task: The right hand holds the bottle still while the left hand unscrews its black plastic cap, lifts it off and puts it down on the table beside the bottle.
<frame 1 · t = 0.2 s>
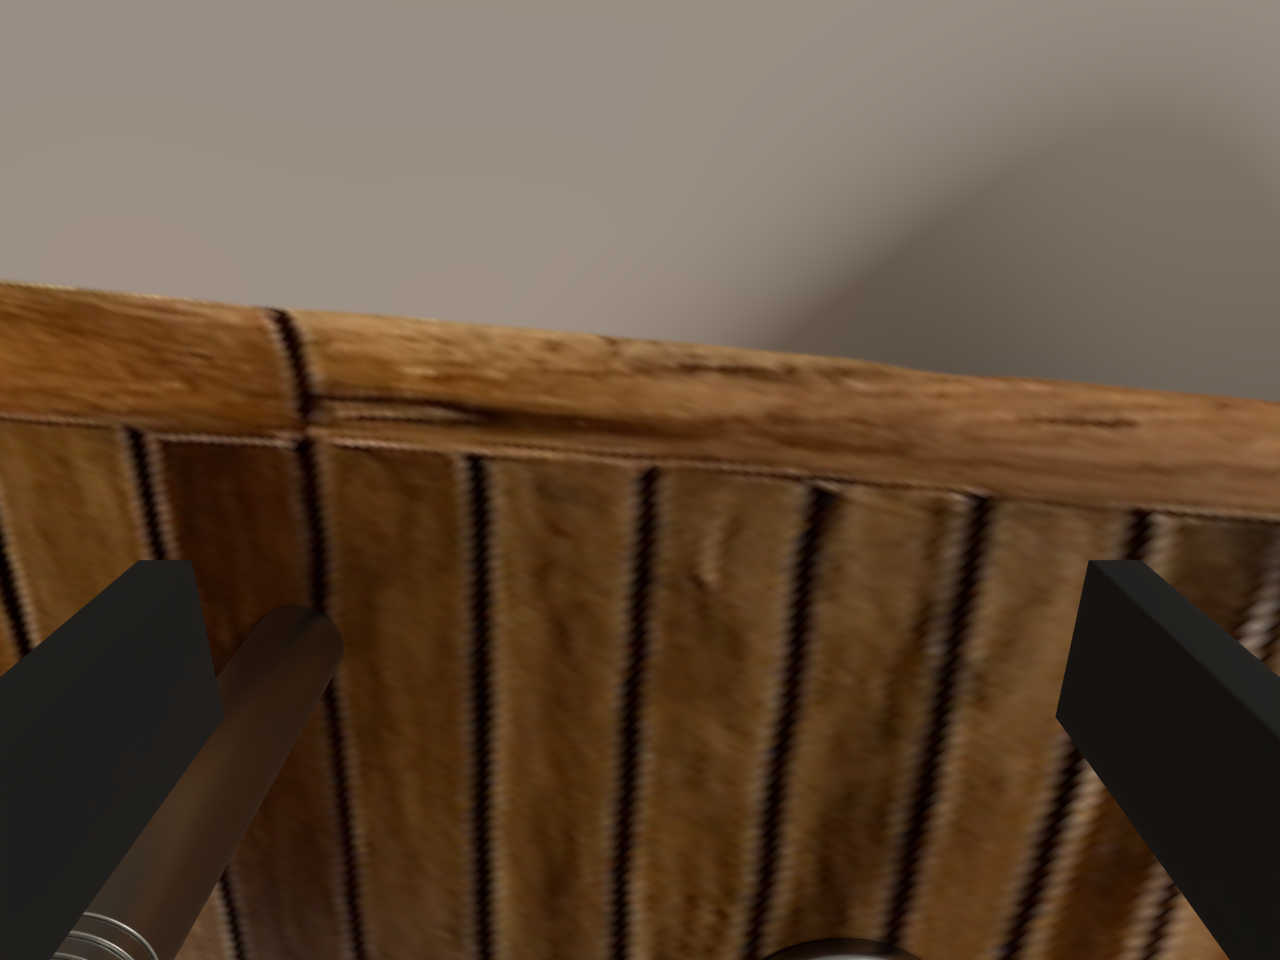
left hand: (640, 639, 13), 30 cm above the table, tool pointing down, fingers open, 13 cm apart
bottle: (299, 643, 48), on the table
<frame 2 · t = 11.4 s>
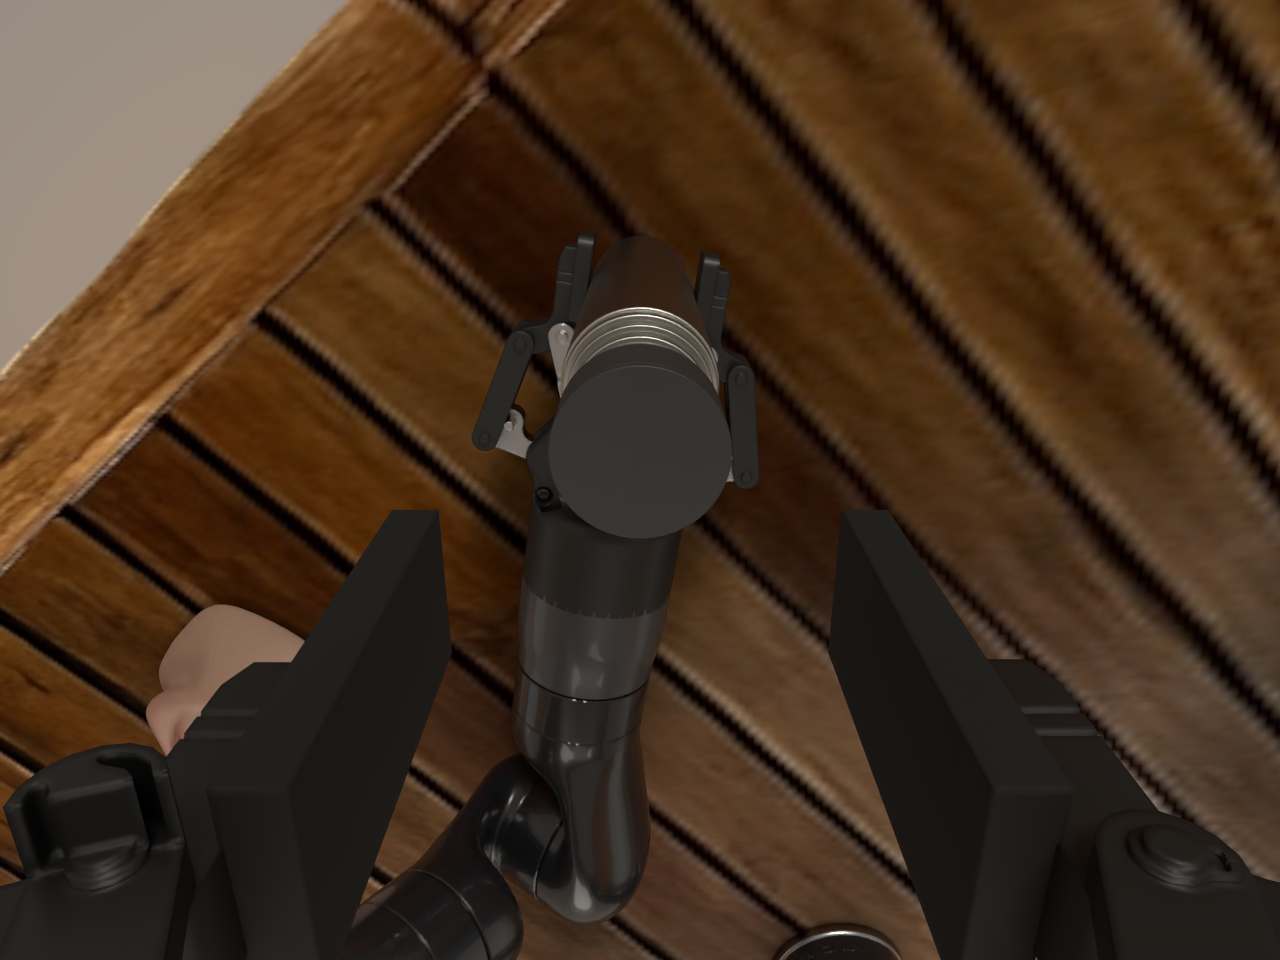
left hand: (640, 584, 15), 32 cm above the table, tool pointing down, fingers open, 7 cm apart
right hand: (648, 245, 38), fingers closed on bottle, 5 cm apart
cap: (640, 451, 21), point 25 cm above the table, screwed on, not yet turned
bottle: (639, 283, 44), on the table, touching right hand
anatomical model: (255, 701, 54), on the table
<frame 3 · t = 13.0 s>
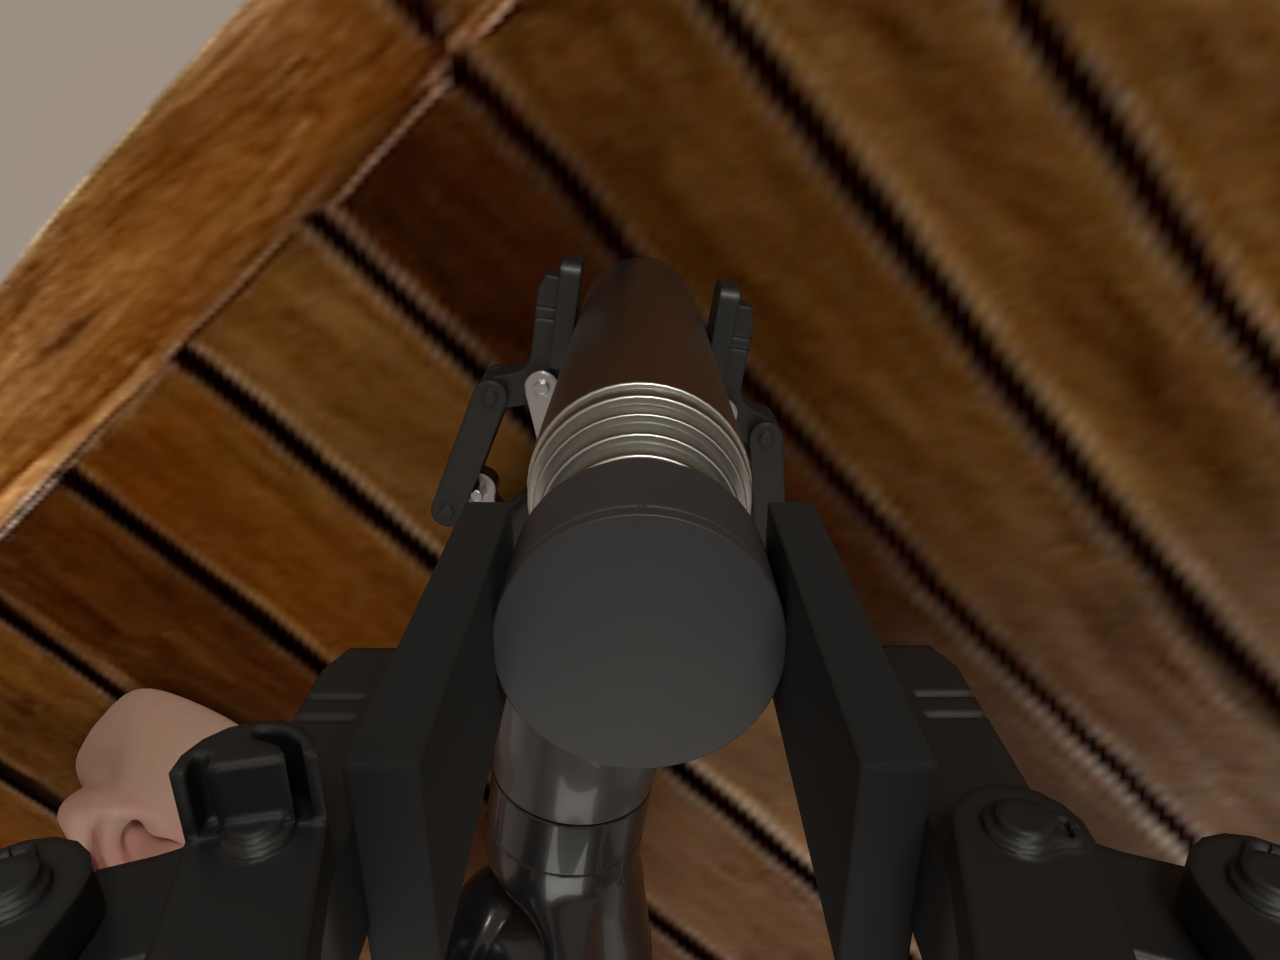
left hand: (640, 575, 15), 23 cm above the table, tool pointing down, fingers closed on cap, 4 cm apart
cap: (639, 638, 13), point 25 cm above the table, screwed on, not yet turned, touching left hand
bottle: (639, 314, 37), on the table, touching right hand
anatomical model: (190, 796, 46), on the table
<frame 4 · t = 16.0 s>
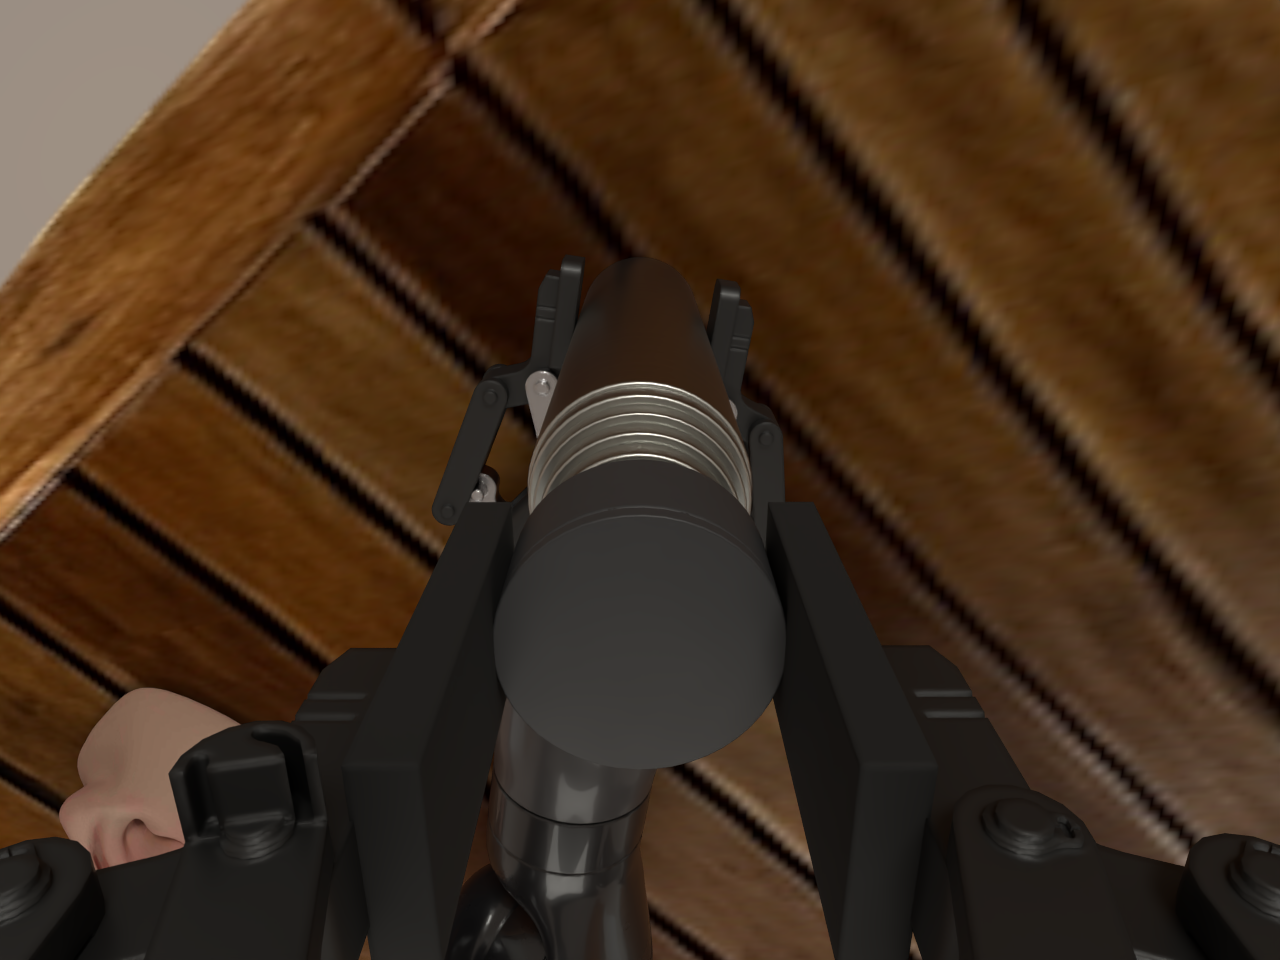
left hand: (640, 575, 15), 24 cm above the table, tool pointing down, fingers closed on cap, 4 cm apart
cap: (639, 639, 13), point 26 cm above the table, turned 94° so far, risen 0.1 cm, still on its thread, touching left hand
bottle: (640, 314, 37), on the table, touching right hand
anatomical model: (191, 795, 46), on the table
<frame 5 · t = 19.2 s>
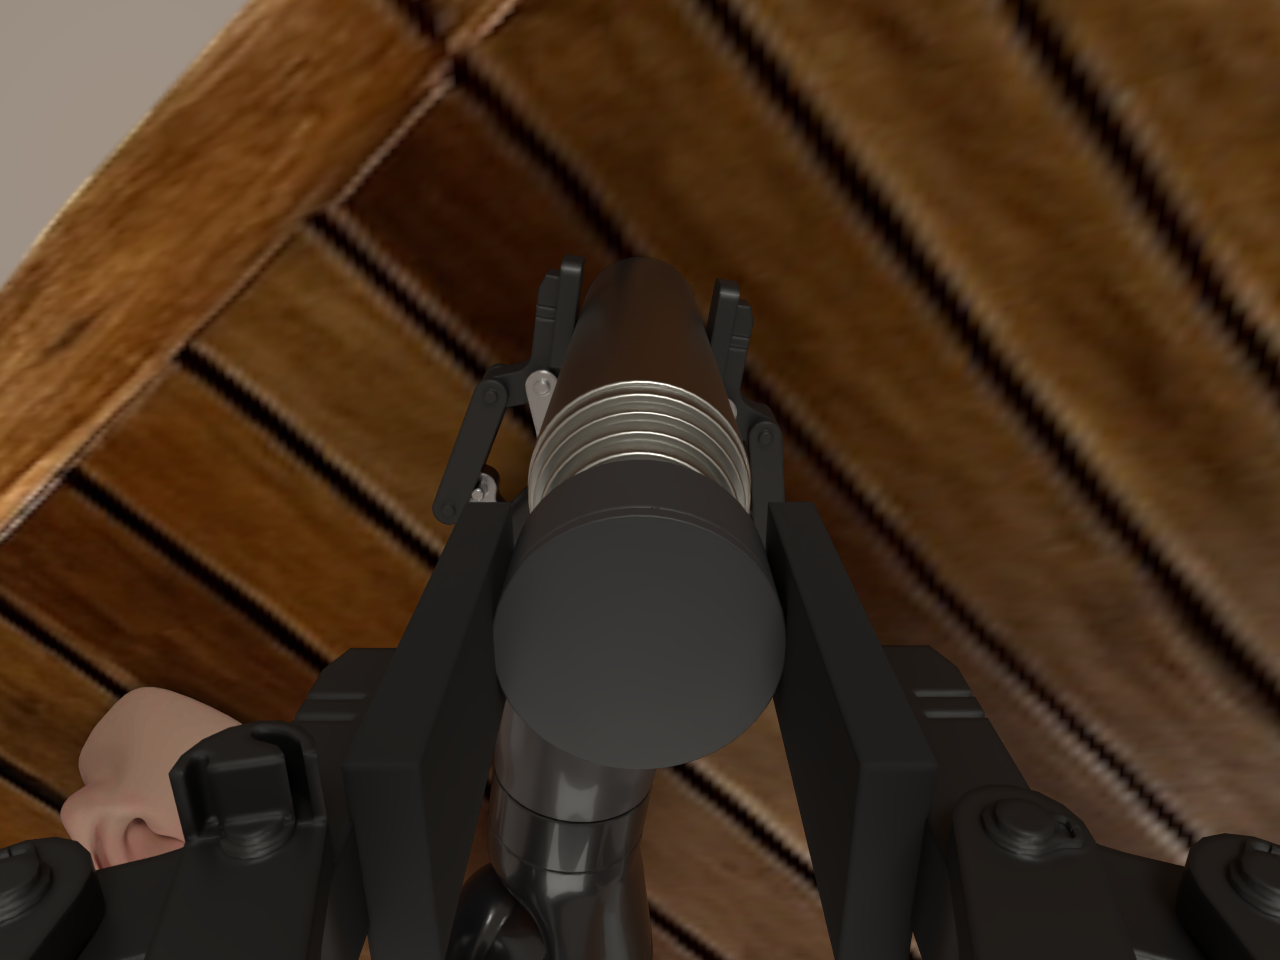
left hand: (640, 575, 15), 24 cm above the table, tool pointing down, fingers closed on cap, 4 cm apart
cap: (639, 639, 13), point 26 cm above the table, turned 189° so far, risen 0.2 cm, still on its thread, touching left hand
bottle: (639, 314, 37), on the table, touching right hand
anatomical model: (192, 794, 46), on the table
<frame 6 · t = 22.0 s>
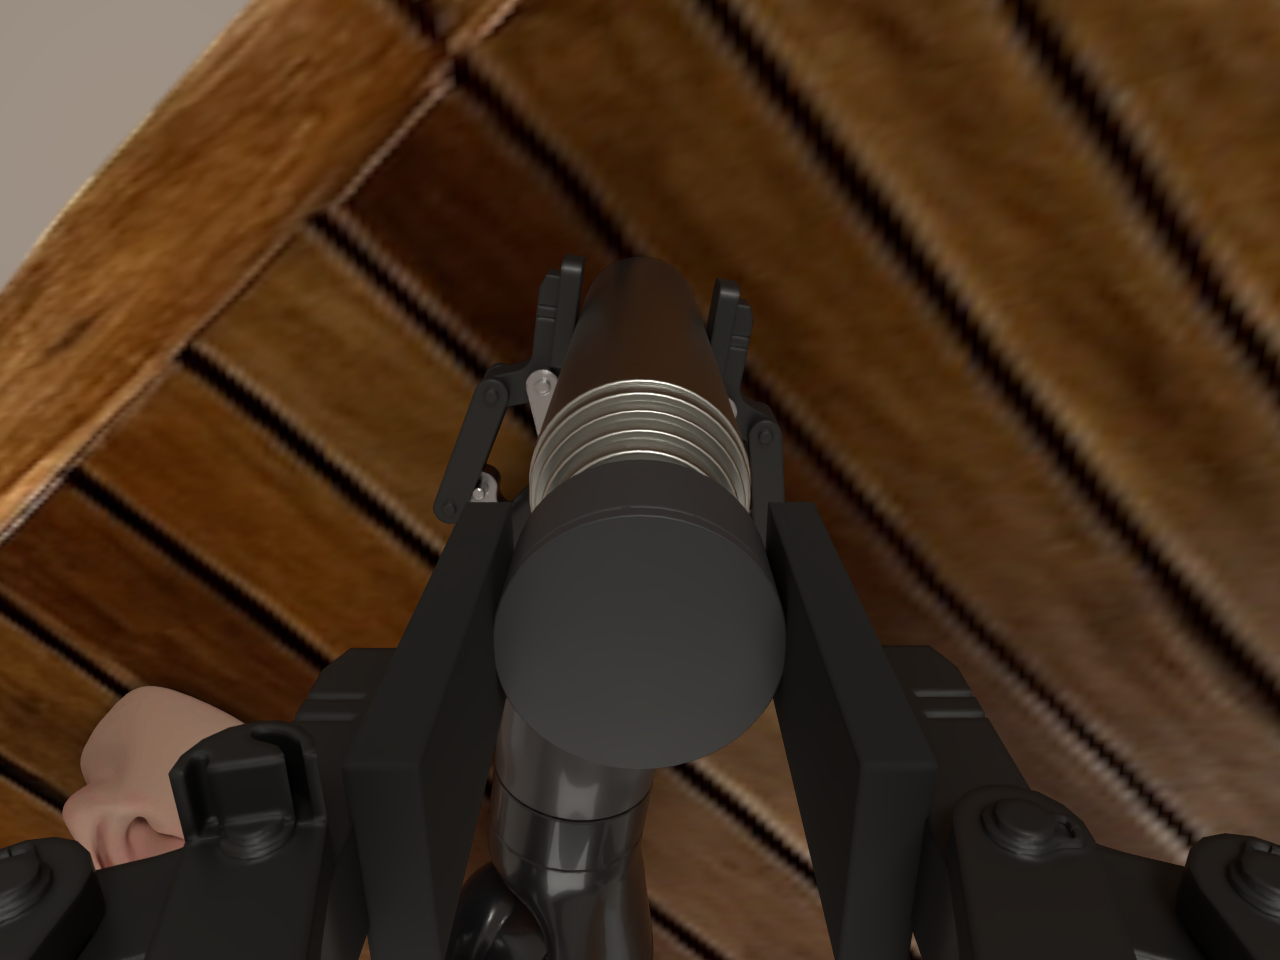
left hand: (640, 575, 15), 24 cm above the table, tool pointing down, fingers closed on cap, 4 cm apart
cap: (639, 639, 13), point 26 cm above the table, turned 283° so far, risen 0.3 cm, still on its thread, touching left hand
bottle: (640, 314, 37), on the table, touching right hand
anatomical model: (194, 793, 46), on the table
when the left hand's fingers open (1 cm above the table, at t = 28.8 s): cap drops 1 cm, point 2 cm above the table.
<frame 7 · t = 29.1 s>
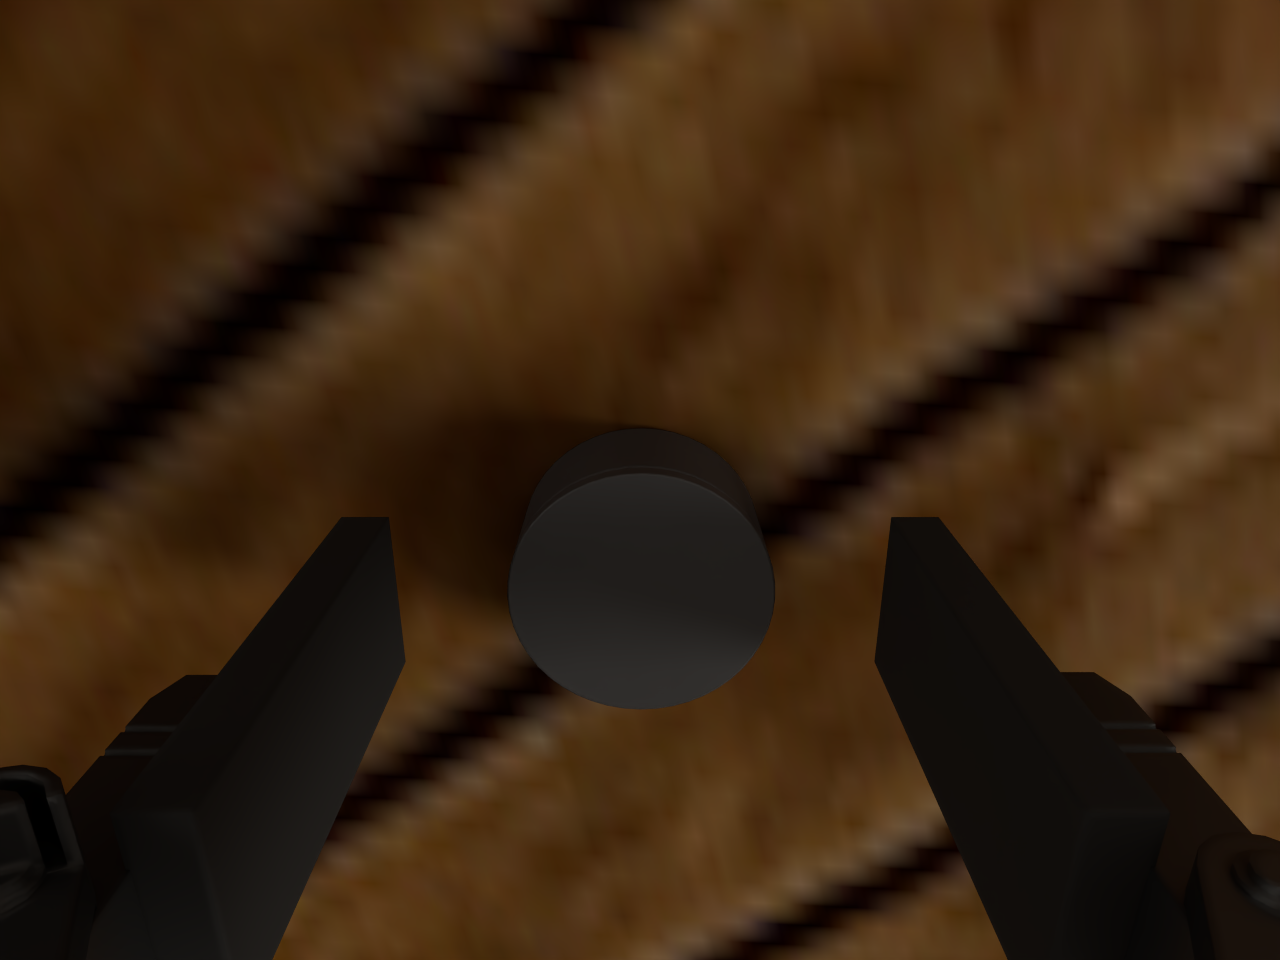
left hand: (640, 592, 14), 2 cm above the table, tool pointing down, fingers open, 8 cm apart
cap: (641, 589, 14), point 2 cm above the table, off its thread
when the right hand's fingers open (6 cm above the table, at t = 30.1 s): bottle stays where it is, on the table.
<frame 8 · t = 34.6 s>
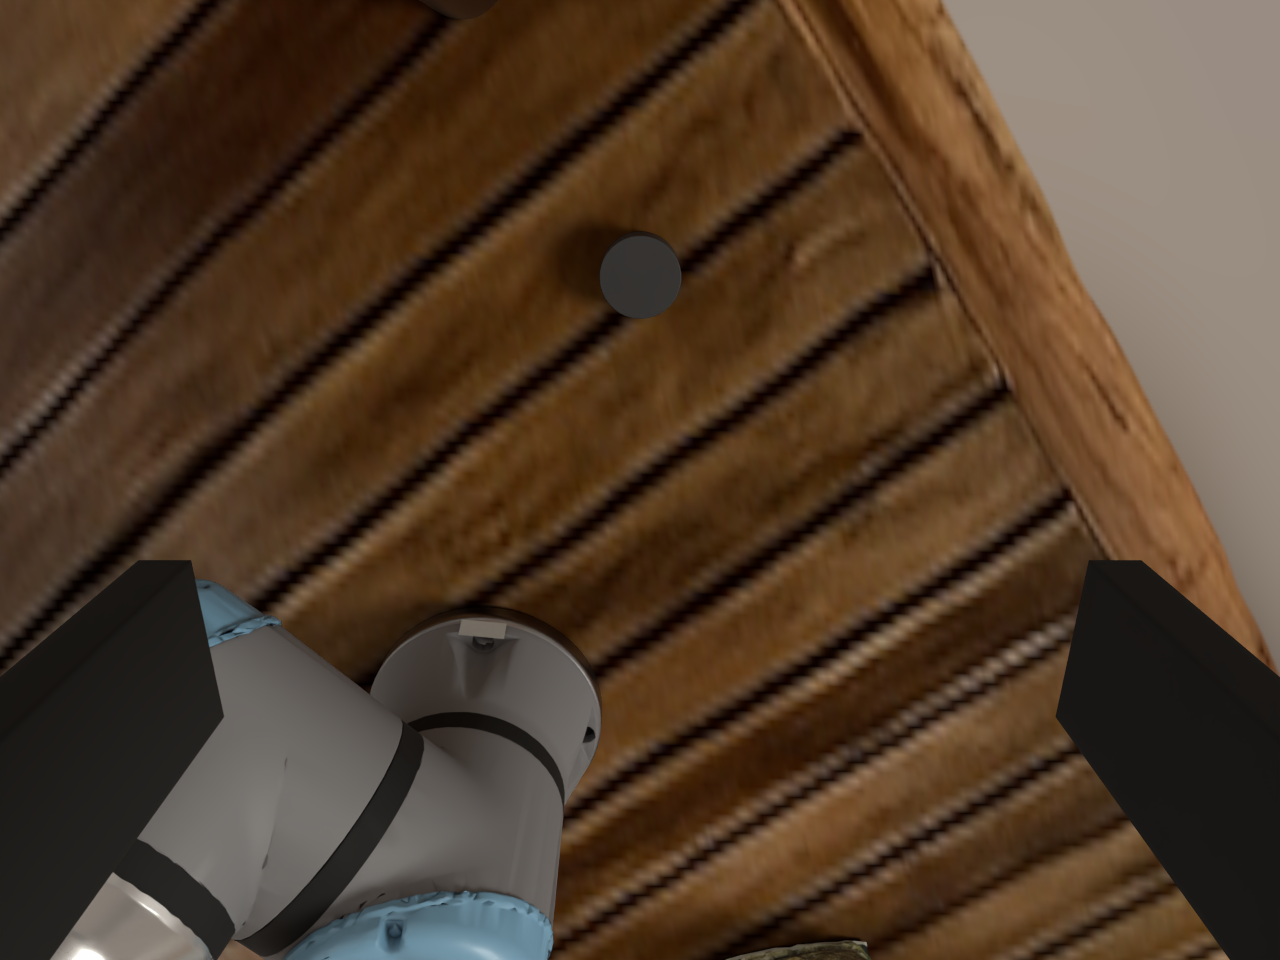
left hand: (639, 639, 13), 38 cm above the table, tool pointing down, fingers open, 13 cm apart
cap: (640, 277, 46), point 2 cm above the table, off its thread
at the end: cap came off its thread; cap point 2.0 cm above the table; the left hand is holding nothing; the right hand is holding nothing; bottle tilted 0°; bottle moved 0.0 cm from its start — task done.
